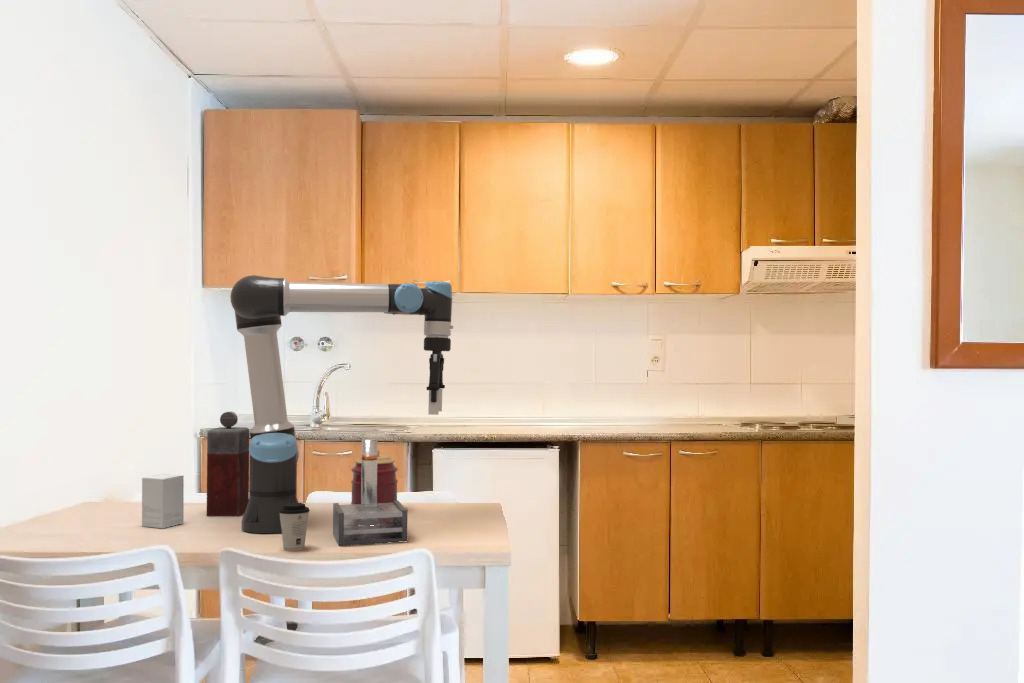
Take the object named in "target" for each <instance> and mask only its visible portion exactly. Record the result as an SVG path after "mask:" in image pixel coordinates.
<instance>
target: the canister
mask: <svg viewBox="0 0 1024 683" xmlns="http://www.w3.org/2000/svg"><path fill="white" fill-rule="evenodd" d="M353 462H354V463H355V465H354V467H352V468H351V472H352V480H351V481H350V483H351V501H350V504H361V477H362V460H361V455H360V456H359V457H358V458H356V459H355V460H354V461H353ZM395 462H396V460H395V459H394V458H392V457H391V456H390V455H385V454H380V450H379V449H378V448H377V503H393V501H395V500H398V481H399V480H398V479H397V471H398V470H399V468H398V467H397V466H396V465H395V464H394V463H395ZM377 511H380V510H377Z"/></svg>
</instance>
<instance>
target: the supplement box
mask: <svg viewBox="0 0 1024 683" xmlns="http://www.w3.org/2000/svg"><path fill="white" fill-rule="evenodd" d="M184 479H185V478H184V475H181V474H170V473H169V474H168V473H160V474H156V475H150V476H149V475H148V476H144V477H142V478H141V527H146V528H156V529H167V528H171V527H170V526H172V527H175V525H176V526H179V525H178V524H181V525H183V524H184V512H185V511H184V505H185V504H184V494H185V493H184V483H185V482H184V481H185V480H184ZM166 527H167V528H166Z"/></svg>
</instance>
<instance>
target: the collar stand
mask: <svg viewBox="0 0 1024 683" xmlns="http://www.w3.org/2000/svg"><path fill="white" fill-rule="evenodd" d="M332 504H333V505H332V535H333V537H334V539H335V542H336V543H337V546H338V547H345V546H346V547H347V546H361V545H376V544H375V543H382V544H389V543H388V542H399V541H407V542H408V512H409V511H408V509H407V508H406V506H404V505H403V504H402V503H401V502H400V501H399V500H398V499H397V500H395V501H393V503H373V504H351V503H350V504H339V502H333V503H332ZM371 510H380V511H371ZM362 525H374V526H362ZM399 543H400V542H399Z"/></svg>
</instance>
